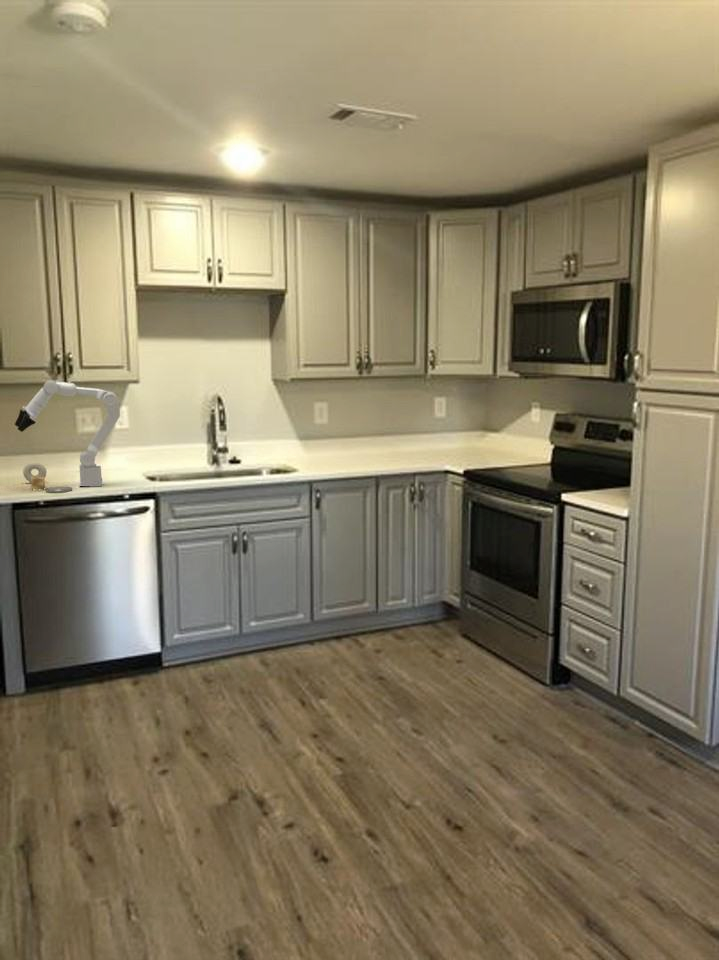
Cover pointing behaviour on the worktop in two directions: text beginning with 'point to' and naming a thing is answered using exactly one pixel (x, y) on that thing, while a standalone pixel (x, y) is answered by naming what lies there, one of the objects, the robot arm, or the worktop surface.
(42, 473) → the donut
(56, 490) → the plate
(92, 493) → the worktop surface
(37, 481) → the cube
